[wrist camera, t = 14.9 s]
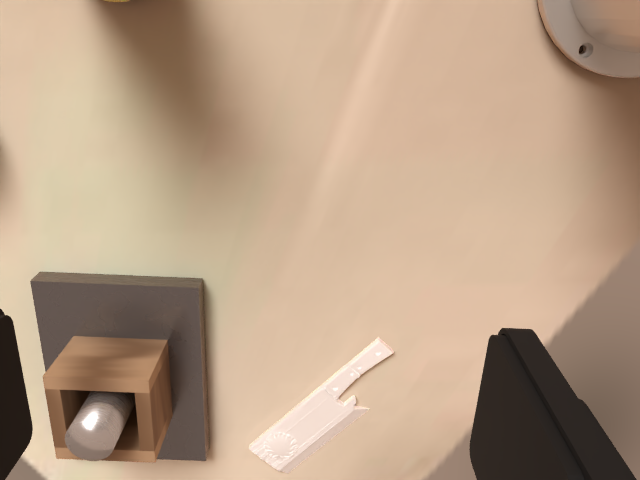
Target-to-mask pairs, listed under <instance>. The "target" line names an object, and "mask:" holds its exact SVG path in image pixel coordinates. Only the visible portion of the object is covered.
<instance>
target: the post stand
mask: <svg viewBox="0 0 640 480" xmlns="http://www.w3.org/2000/svg"><path fill="white" fill-rule="evenodd" d="M30 282H31V288H32V294H33V300H34V305H35V311H36V317H37V323H38V329H39V335H40V341H41V347H42V353H43V359H44V365H45V371H47V370H48V369H49V368H50V366H51V365H52V364H53V362H54V361H55V360H56V358H57V357H58V356H59V354H60V353H61V352H62V351H63V349H64V348H65V347H66V345H67V344H68V343H69V341H70V340H71V339H72V337H73V336H85V337H109V338H133V339H157V340H168V352H169V367H170V382H171V397H172V412H173V416H172V419H171V422H170V424H169V427H168V430H167V432H166V435H165V438H164V440H163V443H162V446H161V449H160V451H159V454H158V457H157V459H170V460H197V461H206V459H207V455H208V451H209V427H208V401H207V376H206V351H205V325H204V300H203V279H201V278H176V277H152V276H128V275H104V274H79V273H55V272H39V273H38V274H37V275H36V276H35V277H34V278H33V279H32V280H31V281H30ZM135 404H136V402H135V393H133V392H108V391H91V392H90V394H89V396H88V397H87V399H86V401H85V402H84V404H83V406H82V407H81V409H80V410H79V412H78V414H77V415H76V417H75V419H74V420H73V422H72V424H71V425H70V427H69V429H68V430H67V432H66V434H65V443H66V446H67V448H68V449H69V450H70V451H71V452H72V453H73V454H74V455H75V456H77V457H79V458H81V459H84V460H88V461H99V460H102V459H105V458H107V457H108V456H109V455H110V454H111V453H112V451H113V449H114V447H115V445H116V443H117V441H118V439H119V437H120V435H121V432H122V430H123V428H124V426H125V424H126V422H127V420H128V418H129V416H130V414H131V412H132V409H133V407H134V405H135Z"/></svg>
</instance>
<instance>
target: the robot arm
mask: <svg viewBox="0 0 640 480" xmlns="http://www.w3.org/2000/svg"><path fill="white" fill-rule="evenodd" d="M538 7H539V12H540V15H541V17H542V20H543V23H544V26H545V29H546V31H547V32H548V34H549V36H550V37H551V39H552V41H553V42H554V44H555V45H556V46H557V47H558V48H559V49H560V51H561V52H562V53H563V54H564V55H565V56H566V57H567V58H568V59H570V60H571V61H573V62H574V63H576V64H578V65H579V66H581V67H582V68H584V69H587V70H590V71H592V72H595V73H598V74H601V75H606V76H611V77H619V78H638V77H640V0H538ZM581 45H582V46H583V51H582V52H581V53H580V54H579V48H580V46H581ZM32 429H33V428H32V421H31V415H30V410H29V405H28V399H27V394H26V389H25V383H24V378H23V373H22V367H21V362H20V357H19V351H18V346H17V341H16V335H15V330H14V325H13V321H12V319H11V317H10V316H8V315H4V312H3V311H2V310H1V309H0V480H5V479H6V477H7V476H8V475H9V473H10V472H11V470H12V469H13V467H14V466H15V464H16V463H17V461H18V460H19V458H20V457H21V455H22V454H23V452H24V451H25V449H26V448H27V446H28V445H29V443H30V440H31V436H32ZM470 458H471V462H472V466H473V469H474V472H475V475H476V478H477V480H636V478H635V477H634V475H633V474H632V472H631V471H630V469H629V468H628V466H627V465H626V463H625V462H624V460H623V459H622V457H621V456H620V454H619V453H618V451H617V450H616V448H615V447H614V445H613V444H612V442H611V441H610V439H609V438H608V436H607V435H606V433H605V432H604V430H603V429H602V427H601V426H600V424H599V423H598V421H597V420H596V418H595V417H594V415H593V414H592V412H591V411H590V409H589V408H588V406H587V405H586V404H585V403H584V402H583V401H582V400H580V399H578V398H577V396H576V395H575V393H574V392H573V390H572V388H571V387H570V385H569V384H568V382H567V381H566V379H565V378H564V376H563V375H562V373H561V372H560V370H559V369H558V367H557V366H556V364H555V363H554V361H553V360H552V358H551V356H550V355H549V353H548V352H547V350H546V349H545V347H544V346H543V344H542V343H541V341H540V340H539V338H538V337H537V335H536V334H535V332H534V331H533V330H531V329H514V328H502V329H501V330H500V331H499V333H498V335H491V336H490V338H489V342H488V347H487V353H486V358H485V363H484V369H483V374H482V380H481V385H480V391H479V396H478V402H477V407H476V412H475V418H474V423H473V429H472V434H471V440H470Z"/></svg>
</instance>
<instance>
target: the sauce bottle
mask: <svg viewBox="0 0 640 480" xmlns="http://www.w3.org/2000/svg"><path fill="white" fill-rule="evenodd" d="M104 1H110V2H126V1H130V0H104Z"/></svg>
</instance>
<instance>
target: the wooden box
mask: <svg viewBox="0 0 640 480" xmlns="http://www.w3.org/2000/svg"><path fill="white" fill-rule="evenodd" d="M43 382H44V388H45V393H46V399H47V405H48V411H49V417H50V423H51V429H52V435H53V441H54V447H55V452H56V458H57V459H81V458H79V457H77V456H75V455H74V454H73V453H72V452H71V451H70V450H69V449H68V448H67V446H66V443H65V434H66V432H67V430H68V429H69V427H70V425H71V424H72V422H73V420H74V419H75V417H76V415H77V414H78V412H79V410H80V409H81V407H82V406H83V404H84V402H85V401H86V399H87V397H88V396H89V394H90V392H91V391H108V392H133V393H135V402H136V404H135V405H134V407H133V409H132V412H131V414H130V416H129V418H128V420H127V422H126V424H125V426H124V428H123V430H122V432H121V435H120V437H119V439H118V441H117V443H116V445H115V447H114V449H113V451H112V453H111V454H110V455H109V456H108V457H107V458H105V459H102V460H106V461H132V462H156V459H157V457H158V454H159V451H160V449H161V446H162V443H163V440H164V438H165V435H166V432H167V430H168V427H169V424H170V422H171V419H172V416H173V412H172V397H171V382H170V367H169V352H168V340H157V339H133V338H109V337H85V336H73V337H72V339H71V340H70V341H69V343H68V344H67V345H66V347H65V348H64V349H63V351H62V352H61V353H60V354H59V356H58V357H57V358H56V360H55V361H54V362H53V364H52V365H51V366H50V368H49V369H48V370H47V371H46V373H45V374H44V375H43ZM81 460H84V459H81Z"/></svg>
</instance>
